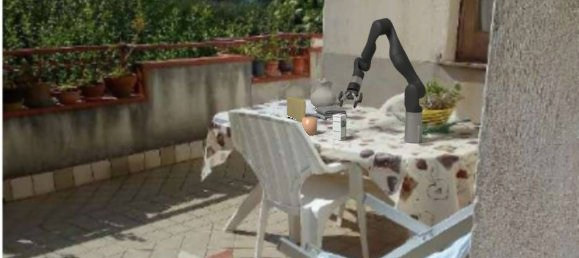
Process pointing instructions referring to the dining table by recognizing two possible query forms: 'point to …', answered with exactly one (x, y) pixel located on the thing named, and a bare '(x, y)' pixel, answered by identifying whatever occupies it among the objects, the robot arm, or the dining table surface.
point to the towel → (329, 112)
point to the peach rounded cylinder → (310, 125)
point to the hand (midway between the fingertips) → (347, 106)
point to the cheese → (296, 108)
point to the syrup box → (339, 127)
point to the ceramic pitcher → (323, 93)
